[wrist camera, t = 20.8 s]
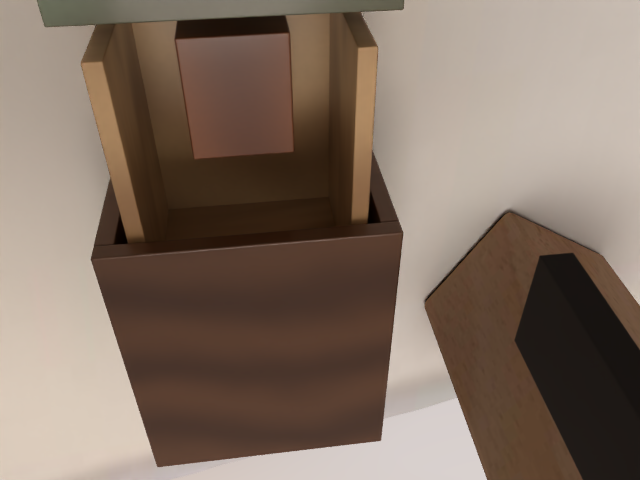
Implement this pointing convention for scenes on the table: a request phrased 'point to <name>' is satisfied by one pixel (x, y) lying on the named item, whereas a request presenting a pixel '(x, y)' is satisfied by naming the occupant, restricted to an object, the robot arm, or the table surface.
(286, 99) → the brown rectangular block
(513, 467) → the wooden block
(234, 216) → the drawer
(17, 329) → the table surface
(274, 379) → the cabinet
